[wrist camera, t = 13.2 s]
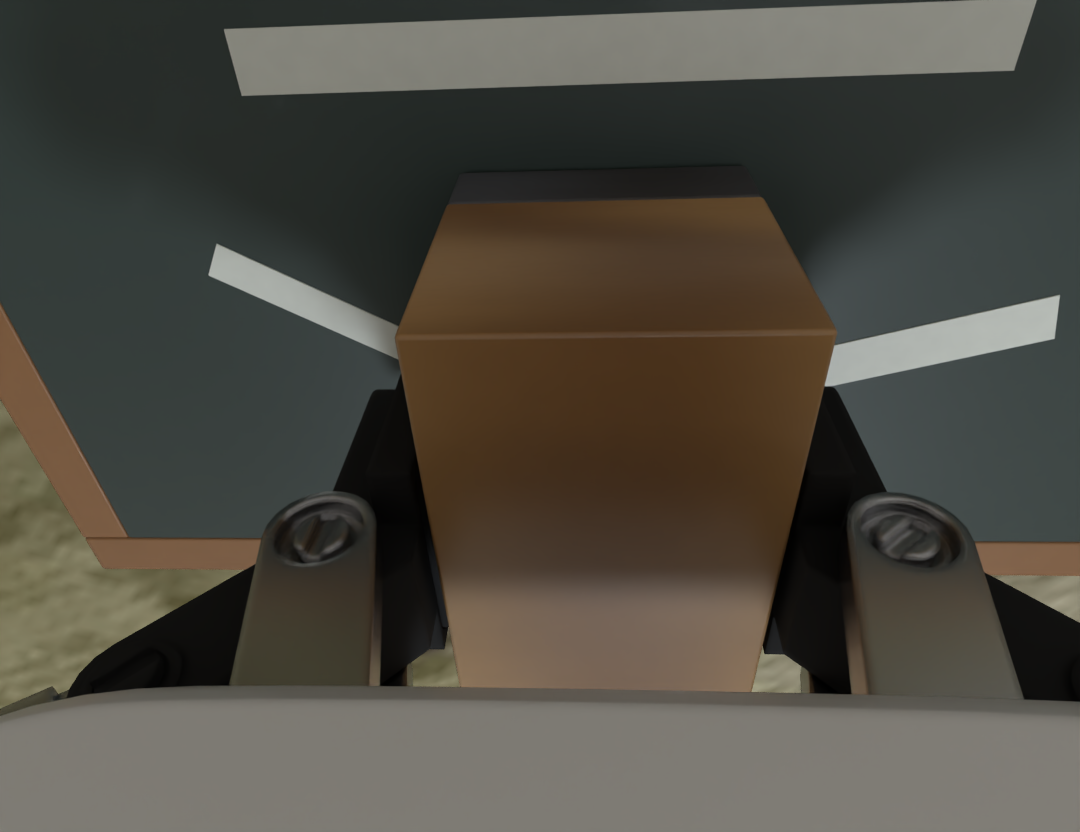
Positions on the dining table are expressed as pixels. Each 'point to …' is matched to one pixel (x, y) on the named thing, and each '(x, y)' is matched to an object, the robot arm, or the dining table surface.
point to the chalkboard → (515, 146)
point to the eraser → (611, 423)
